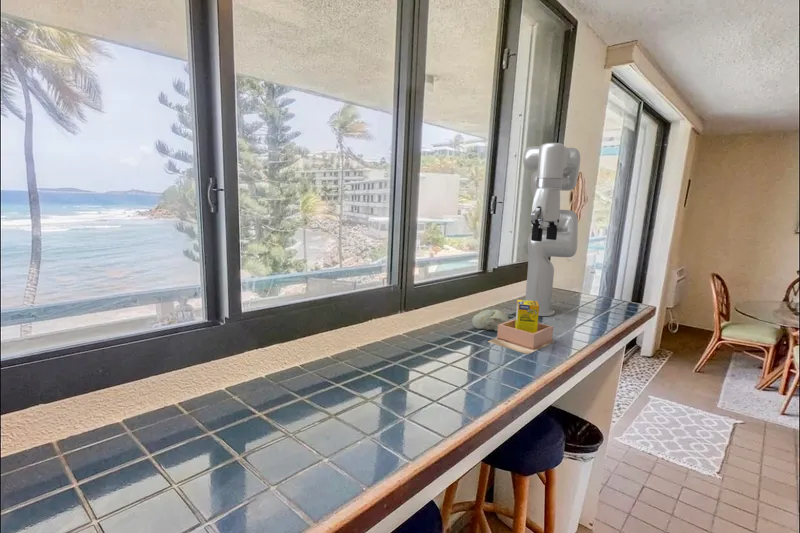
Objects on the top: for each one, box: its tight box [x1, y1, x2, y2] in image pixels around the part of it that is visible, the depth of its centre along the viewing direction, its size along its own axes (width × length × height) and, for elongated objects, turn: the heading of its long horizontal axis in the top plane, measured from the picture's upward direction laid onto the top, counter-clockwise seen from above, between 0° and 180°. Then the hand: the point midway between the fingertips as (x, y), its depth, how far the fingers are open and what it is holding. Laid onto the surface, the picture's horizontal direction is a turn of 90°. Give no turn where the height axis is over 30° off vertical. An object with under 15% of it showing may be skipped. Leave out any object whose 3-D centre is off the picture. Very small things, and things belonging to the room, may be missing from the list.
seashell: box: [471, 309, 511, 332], centre depth 132 cm, size 13×8×10 cm
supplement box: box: [515, 299, 539, 333], centre depth 121 cm, size 6×6×11 cm
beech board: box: [487, 337, 555, 355], centre depth 120 cm, size 16×13×1 cm
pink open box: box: [496, 318, 554, 350], centre depth 121 cm, size 12×12×4 cm
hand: (544, 240), depth 128 cm, fingers open, 9 cm apart
